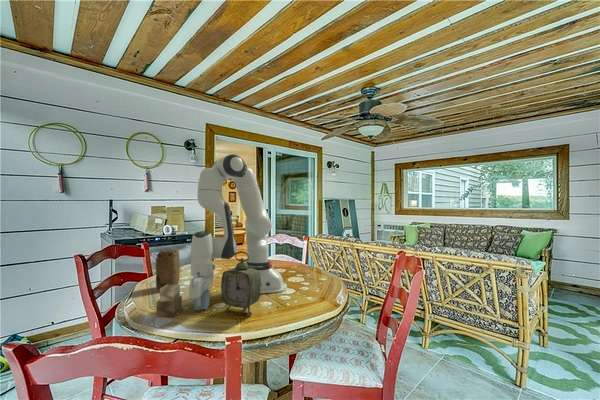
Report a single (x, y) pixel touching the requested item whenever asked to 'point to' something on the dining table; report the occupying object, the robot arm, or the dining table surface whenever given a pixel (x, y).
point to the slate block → (203, 301)
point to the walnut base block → (169, 308)
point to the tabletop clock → (241, 285)
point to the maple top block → (169, 293)
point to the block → (167, 267)
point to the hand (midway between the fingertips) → (201, 302)
